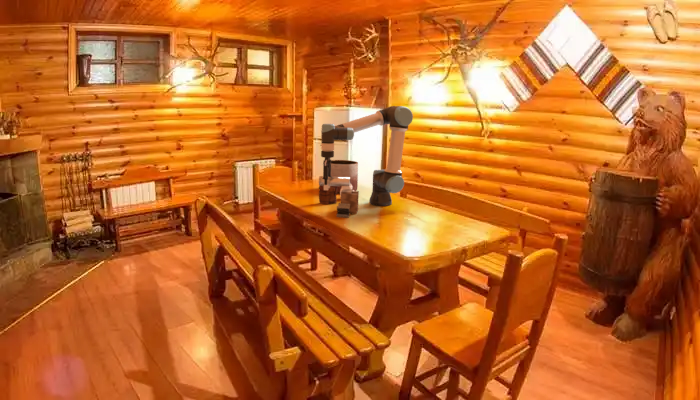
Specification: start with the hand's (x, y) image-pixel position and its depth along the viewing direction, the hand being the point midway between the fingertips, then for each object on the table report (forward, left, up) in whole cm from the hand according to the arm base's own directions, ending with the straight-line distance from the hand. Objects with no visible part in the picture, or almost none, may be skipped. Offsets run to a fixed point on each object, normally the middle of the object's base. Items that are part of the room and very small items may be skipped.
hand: (326, 189), depth 261 cm
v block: (-9, +8, -15) cm, 19 cm away
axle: (-4, +2, +2) cm, 5 cm away
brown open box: (-15, -2, -15) cm, 21 cm away
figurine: (-21, -35, -15) cm, 44 cm away
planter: (-24, -65, -15) cm, 71 cm away
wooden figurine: (-6, -25, -15) cm, 30 cm away
